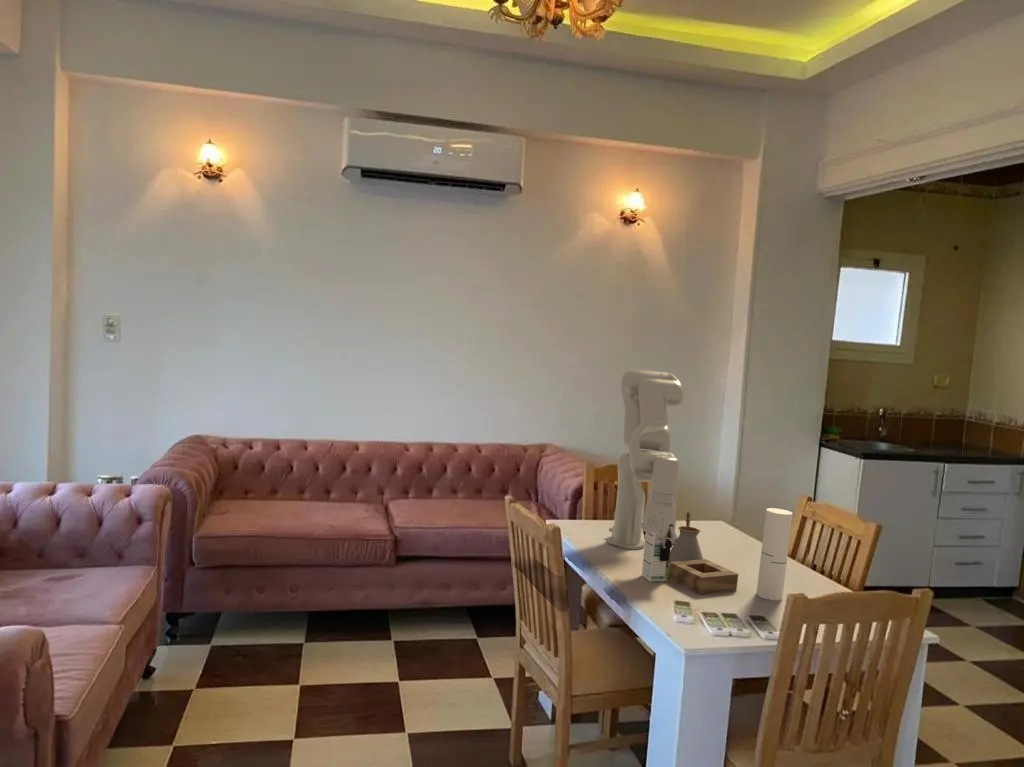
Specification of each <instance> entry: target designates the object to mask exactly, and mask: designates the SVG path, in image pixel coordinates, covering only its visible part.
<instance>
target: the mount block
mask: <svg viewBox="0 0 1024 767" xmlns="http://www.w3.org/2000/svg"><path fill="white" fill-rule="evenodd" d="M668 579H669V581H671V582H675V583H676V584H678V585H680V586H682V587H684V588H686V589H688V590H689V591H691V592H693V593H695V594H697V595H699V596H702V595H710V594H720V593H727V592H736V591H737V590H738V589H737V588H738V580H739V573H737V572H735V571H733V570H730V569H728V568H726V567H724V566H721V565H719V564H717V563H715V562H713V561H711V560H708V559H706V558H703V559H700V560H688V561H677V562H670V564H669V565H668V576H667V580H668Z"/></svg>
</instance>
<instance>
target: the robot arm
mask: <svg viewBox="0 0 1024 767" xmlns="http://www.w3.org/2000/svg"><path fill="white" fill-rule="evenodd" d="M620 388H621V389H620V390H621V396H622V400H623V404H624V419H623V420H624V422H623V443H624V445H625V447H627V448H628V452H626V453H623V454H621V455H620V456H619V457H618V460H617V465H616V466H617V494H616V502H615V503H616V504H615V513H614V523H613V526H612V527H609V528H608V532H610V533H611V536H609V537H608V538H607V542H608V543H609V544H610V545H611V546H614V547H617V548H621V549H626V550H627V549H628V550H639V549H644V546H645V535H646V533H648V534H651V533H653V532H654V533H655V534H656V537H657V538H659V539H661V542H662V548H661V549H660V559H659V560H660V561H669V556H670V551H671V549H672V547H673V545H674V544H675V542H676V541H677V540H678V537H679V536H677V533H676V526H677V524H676V522H677V512H676V510H677V509H676V496H677V490H678V488H677V487H678V479H679V470H680V461H679V459H678V458H677V457H676V456H675V454H673V453H672V452H671V444H672V443H671V442H672V437H671V436H672V435H671V431H670V427H669V426H668V424H669V416H668V407H680V406H681V405H682V404H683V401H684V399H685V398H684V396H685V395H684V394H685V392H684V387H683V384H682V382H681V381H680V380H679V379H678V378H677V377H676V376H675V375H674V374H673V373H670V372H666V371H657V370H656V371H655V370H645V369H629V370H626V371H625V372H624V373H623V375H622V376H621V381H620ZM640 483H650V490H649V498H648V499H647V502H646V493H645V491H644V489H643V487H642V486H641V485H640ZM645 503H646V504H645ZM642 533H643V539H644V540H642ZM667 535H668V537H666V536H667ZM665 539H667V543H666V541H665Z"/></svg>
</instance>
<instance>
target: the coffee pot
mask: <svg viewBox="0 0 1024 767" xmlns="http://www.w3.org/2000/svg"><path fill="white" fill-rule="evenodd" d="M684 516H685V517H686V519H685V525H681V526H678V528H677V529H678V530H679V535H678V536H677V537H678V540H677V541H676V542H675V544H674V545H673V546H672V548H670V556H669V564H670V562H677V561H688V560H700V559H704V557H703V554H702V551H701V547H700V544H699V540H698V535H699V533H701V530H700V529H698V528H697V527H692V526H690V524H691V520H690V519H691V517H692V516H693V515H692V513H691V512H690V511H687V512H685V513H684Z"/></svg>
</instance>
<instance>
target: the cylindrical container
mask: <svg viewBox="0 0 1024 767" xmlns="http://www.w3.org/2000/svg"><path fill="white" fill-rule="evenodd" d="M793 514H794V513H793V512H792V511H791V510H790V511H789V510H787V509H782V508H777V507H776V508H775V507H770V508H769V507H768V508H766V510H765V519H764V528H763V535H762V536H763V537H762V542H761V543H762V544H761V553H760V559H759V560H760V561H759V570H758V579H757V586H756V596H758V597H760V598H762V599H764V598H765V600H768V599H769V601H781V600H780V599H782V600H783V597H784V596H783V595H784V587H785V579H786V572H787V563H788V562H787V561H788V556H789V555H788V554H789V545H790V538H791V530H792V522H793V521H792V520H793Z"/></svg>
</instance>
